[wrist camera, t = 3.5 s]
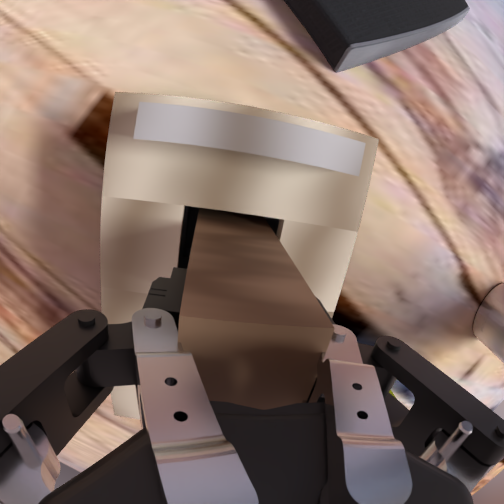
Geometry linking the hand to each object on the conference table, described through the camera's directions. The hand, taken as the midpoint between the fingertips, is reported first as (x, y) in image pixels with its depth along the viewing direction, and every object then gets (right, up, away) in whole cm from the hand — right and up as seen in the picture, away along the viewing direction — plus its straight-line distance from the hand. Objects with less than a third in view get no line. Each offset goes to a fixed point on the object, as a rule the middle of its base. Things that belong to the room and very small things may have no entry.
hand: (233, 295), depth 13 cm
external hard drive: (+13, +27, +7) cm, 30 cm away
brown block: (-1, +3, +9) cm, 10 cm away
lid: (-1, -1, +5) cm, 6 cm away
